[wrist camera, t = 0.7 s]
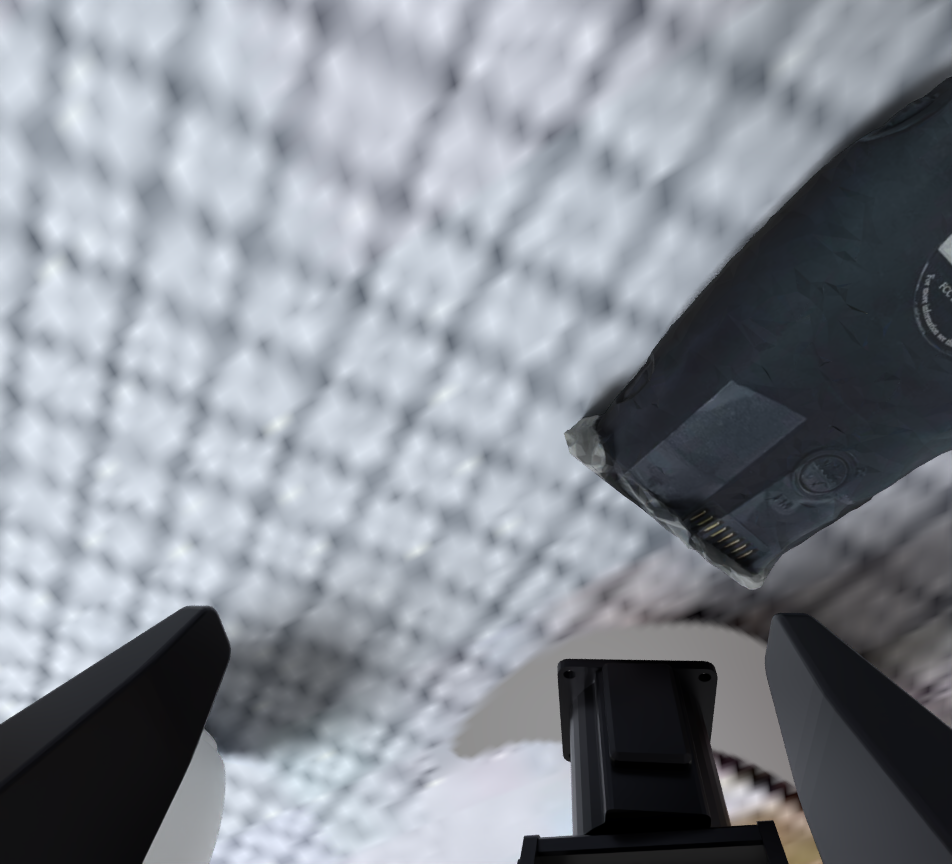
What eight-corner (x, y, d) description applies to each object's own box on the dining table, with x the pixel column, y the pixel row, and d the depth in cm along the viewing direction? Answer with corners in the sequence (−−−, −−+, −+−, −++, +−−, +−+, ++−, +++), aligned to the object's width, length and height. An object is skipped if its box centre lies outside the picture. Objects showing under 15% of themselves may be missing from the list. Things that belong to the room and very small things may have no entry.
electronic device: (750, 532, 23) (1251, 236, 14) (764, 638, 18) (1512, 295, 10) (577, 377, 22) (1003, -31, 14) (547, 448, 17) (1162, -101, 9)
